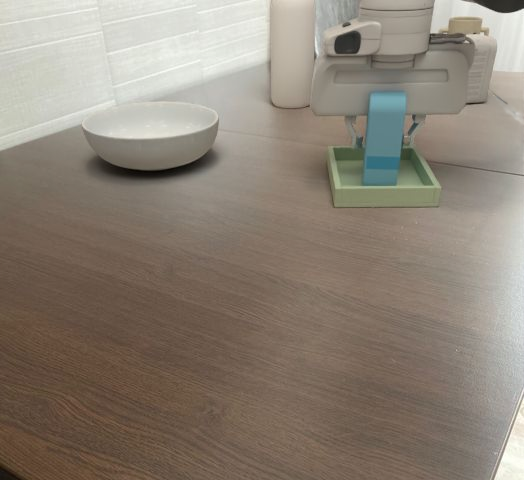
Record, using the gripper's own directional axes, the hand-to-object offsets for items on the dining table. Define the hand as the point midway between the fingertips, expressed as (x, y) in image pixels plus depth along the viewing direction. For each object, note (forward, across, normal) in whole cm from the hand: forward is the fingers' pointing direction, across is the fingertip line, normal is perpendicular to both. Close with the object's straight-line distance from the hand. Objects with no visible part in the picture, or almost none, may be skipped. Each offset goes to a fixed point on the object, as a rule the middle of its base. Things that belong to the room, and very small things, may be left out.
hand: (381, 147), depth 77 cm
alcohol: (+5, +12, -46) cm, 48 cm away
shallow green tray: (+5, 0, 0) cm, 5 cm away
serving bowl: (+5, +34, -10) cm, 36 cm away
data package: (+4, 0, 0) cm, 4 cm away
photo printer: (+5, -23, -45) cm, 51 cm away
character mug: (+5, -26, -63) cm, 68 cm away
